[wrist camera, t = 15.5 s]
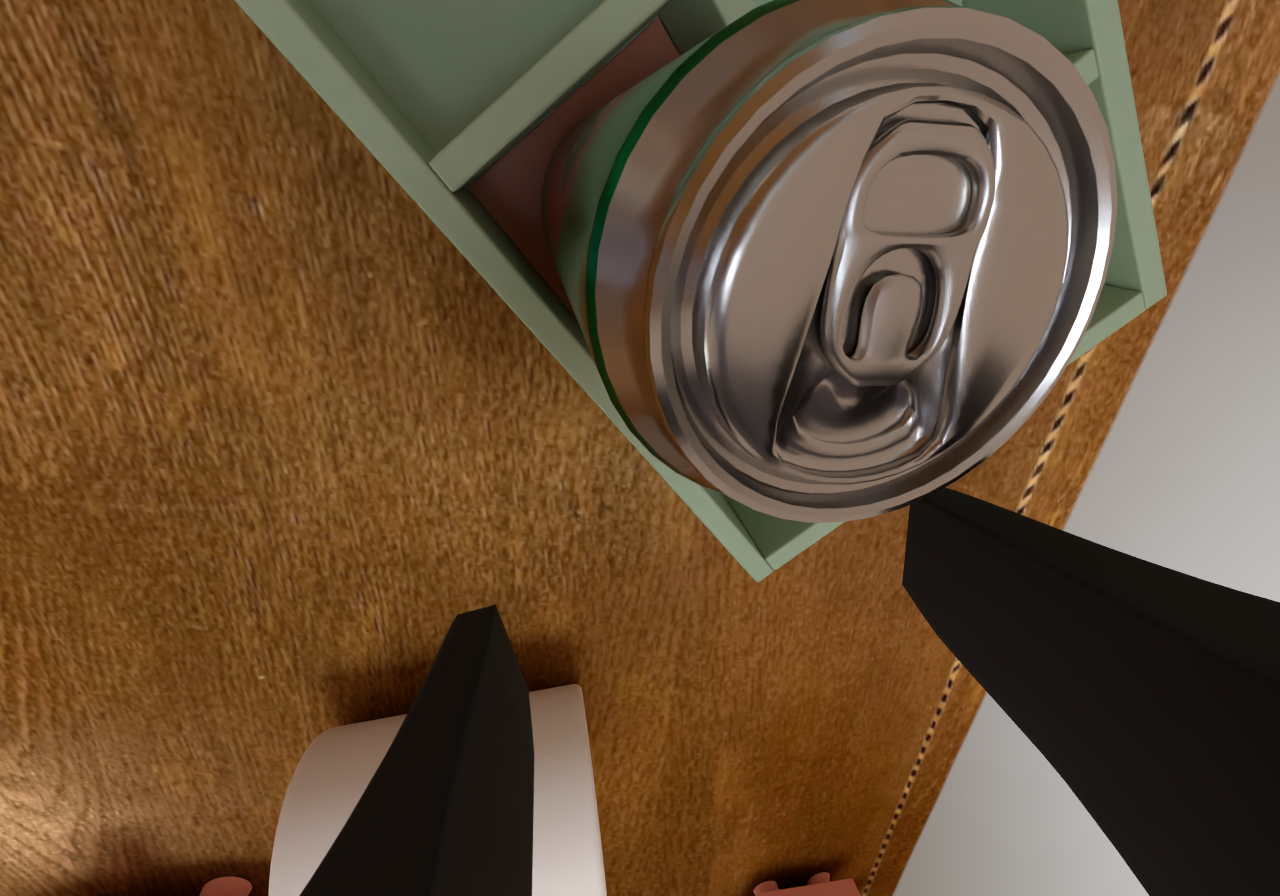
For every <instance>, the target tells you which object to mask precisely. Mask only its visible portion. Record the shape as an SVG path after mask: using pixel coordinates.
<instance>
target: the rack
mask: <svg viewBox="0 0 1280 896" xmlns="http://www.w3.org/2000/svg"><path fill="white" fill-rule="evenodd" d="M234 1H235V2H236V3H237V4H238V5H239V6H240V7H241V8H242V10H243V11H244V12H245V13H246V14H247V15H248V16H249V17H250V19H251V20H252V21H253V22H254V23H255V24H256V25H257V26H258V27H259V29H260V30H261V31H262V32H263V33H264V34H265V35H266V36H267V37H268V39H269V40H270V41H271V42H272V43H273V44H274V45H275V46H276V47H277V49H278V50H279V51H280V52H281V53H282V54H283V55H284V56H285V58H286V59H287V60H288V61H289V62H290V63H291V64H292V65H293V66H294V68H295V69H296V70H297V71H298V72H299V73H300V74H301V75H302V76H303V78H304V79H305V80H306V81H307V82H308V83H309V84H310V85H311V87H312V88H313V89H314V90H315V91H316V92H317V93H318V94H319V95H320V97H321V98H322V99H323V100H324V101H325V102H326V103H327V104H328V105H329V107H330V108H331V109H332V110H333V111H334V112H335V113H336V114H337V115H338V117H339V118H340V119H341V120H342V121H343V122H344V123H345V124H346V126H347V127H348V128H349V129H350V130H351V131H352V132H353V133H354V134H355V136H356V137H357V138H358V139H359V140H360V141H361V142H362V143H363V144H364V146H365V147H366V148H367V149H368V150H369V151H370V152H371V153H372V155H373V156H374V157H375V158H376V159H377V160H378V161H379V162H380V163H381V165H382V166H383V167H384V168H385V169H386V170H387V171H388V172H389V173H390V175H391V176H392V177H393V178H394V179H395V180H396V181H397V182H398V183H399V185H400V186H401V187H402V188H403V189H404V190H405V191H406V192H407V194H408V195H409V196H410V197H411V198H412V199H413V200H414V201H415V202H416V204H417V205H418V206H419V207H420V208H421V209H422V210H423V211H424V212H425V214H426V215H427V216H428V217H429V218H430V219H431V220H432V221H433V223H434V224H435V225H436V226H437V227H438V228H439V229H440V230H441V231H442V233H443V234H444V235H445V236H446V237H447V238H448V239H449V240H450V241H451V243H452V244H453V245H454V246H455V247H456V248H457V249H458V250H459V251H460V253H461V254H462V255H463V256H464V257H465V258H466V259H467V260H468V262H469V263H470V264H471V265H472V266H473V267H474V268H475V269H476V270H477V272H478V273H479V274H480V275H481V276H482V277H483V278H484V279H485V280H486V282H487V283H488V284H489V285H490V286H491V287H492V288H493V289H494V291H495V292H496V293H497V294H498V295H499V296H500V297H501V298H502V299H503V301H504V302H505V303H506V304H507V305H508V306H509V307H510V308H511V309H512V311H513V312H514V313H515V314H516V315H517V316H518V317H519V318H520V319H521V321H522V322H523V323H524V324H525V325H526V326H527V327H528V328H529V330H530V331H531V332H532V333H533V334H534V335H535V336H536V337H537V338H538V340H539V341H540V342H541V343H542V344H543V345H544V346H545V347H546V348H547V350H548V351H549V352H550V353H551V354H552V355H553V356H554V357H555V359H556V360H557V361H558V362H559V363H560V364H561V365H562V366H563V367H564V369H565V370H566V371H567V372H568V373H569V374H570V375H571V376H572V377H573V379H574V380H575V381H576V382H577V383H578V384H579V385H580V386H581V387H582V389H583V390H584V391H585V392H586V393H587V394H588V395H589V396H590V398H591V399H592V400H593V401H594V402H595V403H596V404H597V405H598V406H599V408H600V409H601V410H602V411H603V412H604V413H605V414H606V415H607V416H608V418H609V419H610V420H611V421H612V422H613V423H614V424H615V425H616V427H617V428H618V429H619V430H620V431H621V432H622V433H623V434H624V435H625V437H626V438H627V439H628V440H629V441H630V442H631V443H632V444H633V445H634V447H635V448H636V449H637V450H638V451H639V452H640V453H641V454H642V455H643V457H644V458H645V459H646V460H647V461H648V462H649V463H650V464H651V466H652V467H653V468H654V469H655V470H656V471H657V472H658V473H659V474H660V476H661V477H662V478H663V479H664V480H665V481H666V482H667V483H668V484H669V486H670V487H671V488H672V489H673V490H674V491H675V492H676V493H677V495H678V496H679V497H680V498H681V499H682V500H683V501H684V502H685V503H686V505H687V506H688V507H689V508H690V509H691V510H692V511H693V512H694V513H695V515H696V516H697V517H698V518H699V519H700V520H701V521H702V522H703V523H704V525H705V526H706V527H707V528H708V529H709V530H710V531H711V532H712V534H713V535H714V536H715V537H716V538H717V539H718V540H719V541H720V542H721V544H722V545H723V546H724V547H725V548H726V549H727V550H728V551H729V552H730V554H731V555H732V556H733V557H734V558H735V559H736V560H737V561H738V563H739V564H740V565H741V566H742V567H743V568H744V569H745V570H746V571H747V573H748V574H749V575H750V576H751V577H752V578H753V579H754V580H755V581H756V582H759V581H761V580H762V579H764V578H765V577H767V576H768V575H769V574H771V573H772V572H773V569H774V570H777V569H778V568H780V567H781V566H782V565H784V564H785V563H787V562H788V561H790V560H791V559H792V558H794V557H795V556H797V555H798V554H799V553H801V552H802V551H804V550H805V549H807V548H808V547H809V546H811V545H812V544H814V543H815V542H817V541H818V540H819V539H821V538H822V537H824V536H825V535H826V534H828V533H829V532H831V531H832V530H834V529H835V528H836V527H838V526H839V525H841V524H842V523H844V522H831V523H808V522H801V521H794V520H787V519H781V518H778V517H775V516H772V515H768V514H765V513H762V512H759V511H756V510H753V509H751V508H750V507H748V506H746V505H744V504H742V503H740V502H738V501H736V500H734V499H732V498H730V497H728V496H727V495H725V494H724V493H722V492H718V491H715V490H712V489H709V488H706V487H703V486H701V485H699V484H697V483H695V482H693V481H691V480H689V479H687V478H685V477H683V476H681V475H679V474H677V473H676V472H674V471H673V470H672V469H670V468H669V467H668V466H666V465H665V464H664V463H662V462H661V461H660V460H658V459H657V458H656V457H655V456H653V455H652V454H651V453H650V452H649V451H648V450H647V449H646V448H645V447H644V446H643V445H642V443H641V442H640V441H639V440H638V439H637V438H636V437H635V436H634V435H633V434H632V433H631V432H630V430H629V429H628V427H627V426H626V424H625V423H624V421H623V420H622V418H621V417H620V415H619V413H618V412H617V410H616V409H615V407H614V406H613V404H612V403H611V401H610V398H609V396H608V394H607V391H606V389H605V387H604V384H603V382H602V379H601V377H600V375H599V372H598V370H597V368H596V365H595V363H594V360H593V358H592V355H591V353H590V350H589V348H588V345H587V343H586V340H585V338H584V335H583V333H582V330H581V328H580V325H579V323H578V320H577V318H576V315H575V313H574V310H573V308H572V305H571V303H570V300H569V298H568V295H567V293H566V290H565V288H564V285H563V283H562V280H561V278H560V275H559V273H558V270H557V268H556V265H555V263H554V260H553V258H552V255H551V253H550V250H549V248H548V245H547V243H546V239H545V235H544V231H543V227H542V219H541V191H542V186H543V181H544V176H545V173H546V170H547V167H548V165H549V162H550V159H551V157H552V156H553V154H554V152H555V150H556V148H557V146H558V145H559V143H560V142H561V141H562V139H563V138H564V137H565V136H566V134H567V133H568V132H569V131H570V130H571V129H572V128H573V127H574V126H575V125H576V124H577V123H578V122H579V121H580V120H582V119H583V118H585V117H586V116H588V115H590V114H591V113H593V112H594V111H596V110H597V109H599V108H600V107H602V106H603V105H605V104H607V103H608V102H610V101H611V100H613V99H614V98H616V97H617V96H619V95H620V94H622V93H624V92H625V91H627V90H628V89H630V88H631V87H633V86H634V85H636V84H637V83H639V82H641V81H642V80H644V79H645V78H647V77H648V76H650V75H651V74H653V73H654V72H656V71H658V70H659V69H661V68H662V67H664V66H665V65H667V64H668V63H670V62H671V61H673V60H675V59H676V58H678V57H679V56H681V55H682V54H684V53H685V52H687V51H688V50H690V49H692V48H693V47H695V46H696V45H698V44H699V43H701V42H702V41H704V40H705V39H707V38H708V37H710V36H712V35H713V34H715V33H716V32H718V31H719V30H721V29H722V28H724V27H726V26H727V25H729V24H730V23H732V22H733V21H735V20H736V19H738V18H740V17H741V16H743V15H744V14H746V13H747V12H749V11H750V10H752V9H754V8H755V7H758V6H760V5H763V4H765V3H768V2H770V1H772V0H234ZM949 1H951V2H953V3H955V4H957V5H959V6H961V7H965V8H970V9H974V10H978V11H982V12H986V13H990V14H994V15H998V16H1003V17H1007V18H1009V19H1011V20H1013V21H1015V22H1017V23H1019V24H1020V25H1022V26H1024V27H1026V28H1028V29H1030V30H1032V31H1034V32H1036V33H1038V34H1040V35H1041V36H1043V37H1044V38H1045V39H1046V40H1047V41H1048V42H1050V43H1051V44H1052V45H1053V46H1054V47H1055V48H1056V49H1057V50H1059V51H1060V52H1061V53H1062V54H1063V55H1064V56H1065V57H1066V58H1068V59H1069V60H1070V61H1071V63H1072V64H1073V65H1074V67H1075V68H1076V70H1077V71H1078V72H1079V74H1080V75H1081V77H1082V78H1083V80H1084V81H1085V82H1086V84H1087V85H1088V87H1089V88H1090V90H1091V91H1092V93H1093V95H1094V97H1095V100H1096V102H1097V104H1098V107H1099V109H1100V111H1101V114H1102V116H1103V118H1104V121H1105V123H1106V125H1107V129H1108V133H1109V138H1110V142H1111V147H1112V151H1113V156H1114V160H1115V167H1116V185H1117V214H1116V225H1115V236H1114V244H1113V248H1112V253H1111V257H1110V262H1109V266H1108V271H1107V275H1106V280H1105V283H1104V286H1103V288H1102V291H1101V294H1100V297H1099V300H1098V303H1097V306H1096V308H1095V311H1094V314H1093V317H1092V319H1091V321H1090V323H1089V325H1088V327H1087V329H1086V331H1085V333H1084V336H1083V338H1082V340H1081V342H1080V344H1079V346H1078V348H1077V350H1076V352H1075V354H1074V355H1073V357H1072V358H1071V360H1070V362H1069V363H1068V364H1070V363H1071V362H1073V361H1074V360H1075V359H1077V358H1078V357H1080V356H1081V355H1083V354H1084V353H1085V352H1087V351H1088V350H1090V349H1091V348H1092V347H1094V346H1095V345H1097V344H1098V343H1100V342H1101V341H1102V340H1104V339H1105V338H1107V337H1108V336H1110V335H1111V334H1112V333H1114V332H1115V331H1117V330H1118V329H1120V328H1121V327H1122V326H1124V325H1125V324H1127V323H1128V322H1129V321H1131V320H1132V319H1134V318H1135V317H1137V316H1138V315H1139V314H1141V313H1142V312H1144V311H1145V309H1147V308H1149V307H1151V306H1152V305H1153V304H1155V303H1156V302H1158V301H1159V300H1161V299H1162V298H1163V297H1165V296H1166V295H1167V290H1166V284H1165V278H1164V272H1163V266H1162V260H1161V254H1160V248H1159V242H1158V237H1157V231H1156V225H1155V219H1154V213H1153V207H1152V201H1151V195H1150V189H1149V183H1148V178H1147V172H1146V166H1145V160H1144V154H1143V148H1142V142H1141V136H1140V130H1139V124H1138V119H1137V113H1136V107H1135V101H1134V95H1133V89H1132V83H1131V77H1130V71H1129V65H1128V60H1127V54H1126V48H1125V42H1124V36H1123V30H1122V24H1121V18H1120V12H1119V6H1118V0H949Z"/></svg>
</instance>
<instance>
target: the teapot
mask: <svg viewBox="0 0 1280 896" xmlns="http://www.w3.org/2000/svg"><path fill="white" fill-rule="evenodd" d="M251 890H252V885H251V883H250V882H249V881H247V880H246V879H243V878H239V877H221V878H217V879H213V880H211V881H209V882H208V883H206V884H205V885H204V887H203V888H202V891H201V893H200V895H199V896H248V895H249V893H250V892H251Z"/></svg>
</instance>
